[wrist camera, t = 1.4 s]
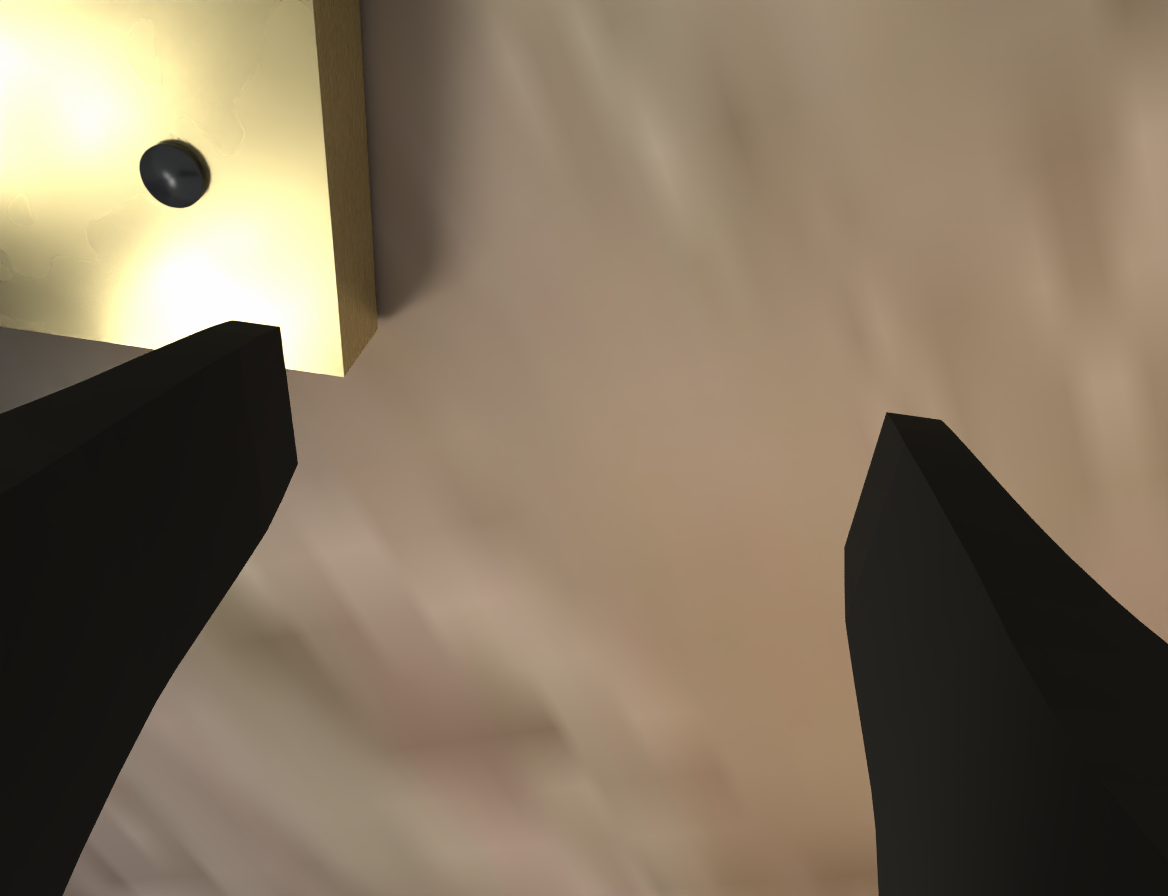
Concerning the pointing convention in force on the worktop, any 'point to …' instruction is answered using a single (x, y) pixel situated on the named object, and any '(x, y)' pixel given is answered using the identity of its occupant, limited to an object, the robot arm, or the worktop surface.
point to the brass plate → (187, 172)
